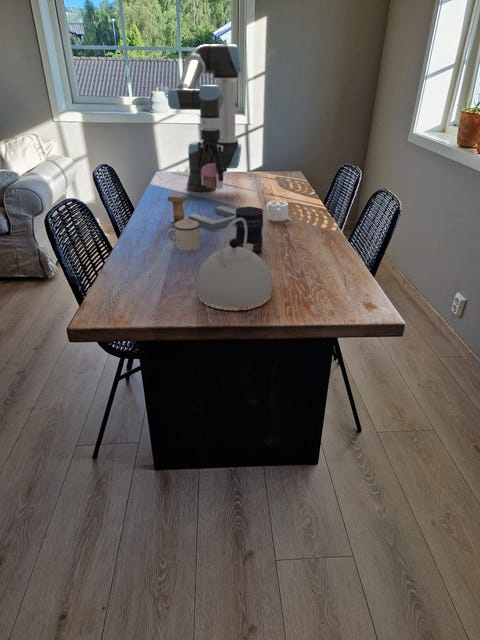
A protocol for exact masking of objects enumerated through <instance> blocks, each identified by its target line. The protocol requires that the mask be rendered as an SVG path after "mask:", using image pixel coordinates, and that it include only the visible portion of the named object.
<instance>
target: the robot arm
mask: <svg viewBox="0 0 480 640" xmlns="http://www.w3.org/2000/svg"><path fill="white" fill-rule="evenodd" d="M183 63H184V64H183V65H184V70H183V72H182V74H181V76H180V80H179V82H178V84H177V86H176V88H170V89H168V92H167V103H168V107H169V109H171V110H178V111H181V110H183V111H185V110H188V111H189V110H190V111H192V110H196V111H197V110H198V111H200V113H199V115H200V128H201V130H200V136H201V137H200V138H201V140H198V141H194V142H191V143H189V144H188V147H187V148H188V152H187V155H188V165H189V166H188V167H189V169H188V171H189V175H188V179H187V182H186V189H187V190H189V191H192V192H197V193H198V192H210V191H214V190H222V189H223V188H224V187H223V181H224V173H226V172H227V171H228V170H229V169H237V168H238V167H239V165H240V161H241V153H242V144H240V143H239V139H238V138H237V137H236V82H237V81H238V79H239V75H241V74H242V58H241V51H240V48H239V46H238V45H237V44H229V43H226V44H225V43H224V44H223V43H222V44H221V43H220V44H219V43H217V44H207V43H206V44H202V45H199V46H197V47H196V48H194V49H192V51H190V52H189V53H188V55H187V56H186V58H185V59H184V62H183ZM204 74H205V75H206V74H212V75H213V80H214V81H215V82H216V84H202V85H200V86H199V88H198V89H197V87H198V85H199V82H200V79H201V77H202V76H204ZM210 163H215V165H216V168H217V171H218V172H216V181H217V188H210V187H209V188H207V187H206V185H205V183H204V180H203V176H202V175H201V169H202V167H203V166H205V165H206V164H210Z"/></svg>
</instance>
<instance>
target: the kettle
mask: <svg viewBox="0 0 480 640" xmlns="http://www.w3.org/2000/svg"><path fill="white" fill-rule="evenodd" d="M238 221H243V223H244V228H245V236H244V243H243V248H242V247H237V246H238V245H239V242H238V240H237V239H236V238H231V239H230V241H229V246H227V247H224V246H225V245H224V244H225V241H226V237H227V234H228V232H229V230H230V229H231V227H232V226H233V225H234V224H236V222H238ZM226 226H227V227H226V228H225V230H224V232H223V234H222V237H221V241H220V246H219V247H220V249H218V250H217V251H215V252H214V253H212V254H211V255H210V256H209V257H208V258H206V259H205V261H203V263H202V265H201V267H200V268H199V272H198V274H197V279H196V280H197V281H196V294H197V293H198V295H199V297H200V298H201V299H202V300H204V301H206V302H207V303H210V304H213V305H217V306H223V307H246V306H251V305H255V304H258V303H261V302H263V301H265V300H266V299H267V298H269V296H270V295H271V292H273V291H272V290H273V288H272V286H273V285H272V277H271V273H270V270H269V268H268V266H267V264H266V263H265V261H264V260H263V259H262V258H261V257H260V256H259V254H258V255H256V254H255V253H253V252H252V249H253V244H248V243H247V245H246V242H247V224H246V221H245V220H244V219H243V218H237V219H235V220H233V221H232V222H231V223H230V224H229V225H226Z"/></svg>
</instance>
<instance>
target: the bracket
mask: <svg viewBox="0 0 480 640" xmlns="http://www.w3.org/2000/svg"><path fill="white" fill-rule="evenodd" d="M288 213H289V203H288V202H287V201H284V200H279V202H277V201H276V200H271V201H268V202H267V204H266V216H267V217H266V218H267V219H268V220H269V221H273V222H284V221H286V220H288V215H289V214H288Z"/></svg>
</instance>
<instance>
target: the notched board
mask: <svg viewBox="0 0 480 640" xmlns="http://www.w3.org/2000/svg"><path fill="white" fill-rule="evenodd" d="M215 213H216V214H219V215H222V216H225V217H224V218H222V219H219V220H215V219H212V218H210V217H206V216H203V215H200V214H198V213H192V214H189V215H187V217H189V219H191V220H194V221H197V222H198V223H199V225H201V227H202V226H203V227H204V228H206V229H210V230H212V231H213V230H215V229H220V228H223V227H226V226H228V225H229V224H230V223H231V222H232V221H233V220H235V218H236V209H233V208H230V207H226V206H223V205H221V206H220V205H219V206H216V207H215Z"/></svg>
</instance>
